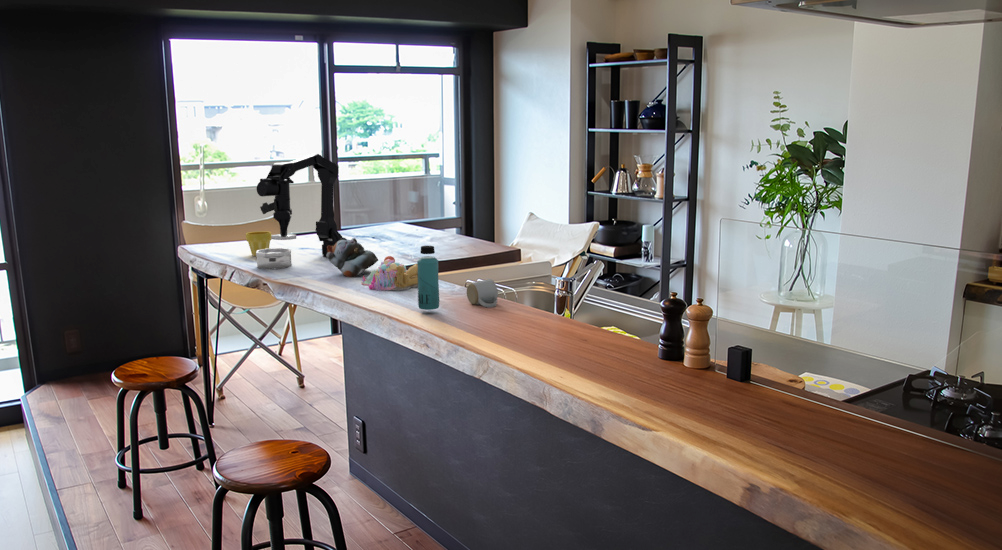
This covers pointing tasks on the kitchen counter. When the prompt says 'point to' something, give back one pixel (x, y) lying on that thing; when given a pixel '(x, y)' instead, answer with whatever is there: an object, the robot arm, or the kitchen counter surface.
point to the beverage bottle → (428, 280)
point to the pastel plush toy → (392, 276)
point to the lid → (283, 236)
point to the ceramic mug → (483, 293)
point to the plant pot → (258, 241)
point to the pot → (273, 258)
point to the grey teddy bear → (350, 257)
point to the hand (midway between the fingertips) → (283, 234)
